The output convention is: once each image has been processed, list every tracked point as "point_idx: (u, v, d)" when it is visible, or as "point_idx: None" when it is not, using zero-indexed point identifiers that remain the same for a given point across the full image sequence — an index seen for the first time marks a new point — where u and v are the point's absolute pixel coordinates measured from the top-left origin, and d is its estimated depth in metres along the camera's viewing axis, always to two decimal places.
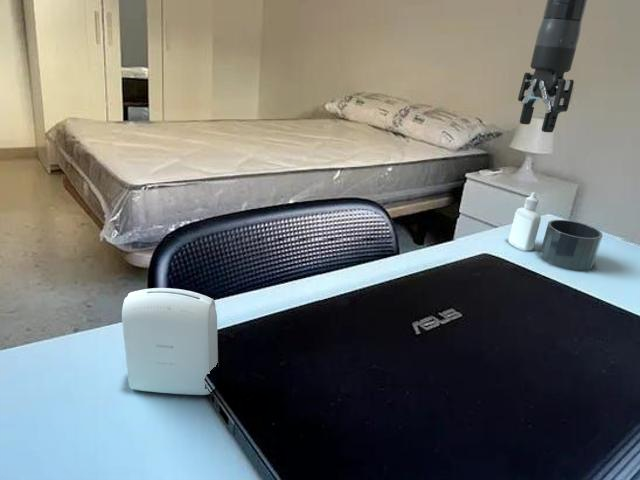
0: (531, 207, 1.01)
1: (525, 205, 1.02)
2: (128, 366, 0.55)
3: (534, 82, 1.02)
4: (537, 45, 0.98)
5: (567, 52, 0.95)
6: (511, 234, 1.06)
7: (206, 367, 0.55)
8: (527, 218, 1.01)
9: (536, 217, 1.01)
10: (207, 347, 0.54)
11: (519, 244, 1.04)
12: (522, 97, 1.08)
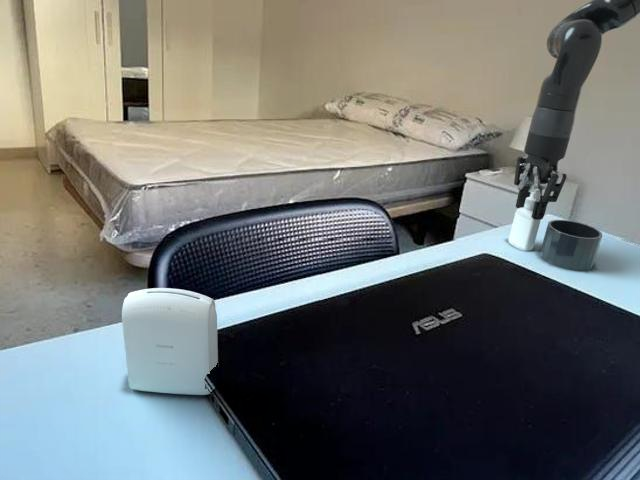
0: (531, 207, 1.01)
1: (525, 205, 1.02)
2: (128, 366, 0.55)
3: (528, 166, 1.00)
4: (531, 132, 0.96)
5: (561, 141, 0.94)
6: (511, 234, 1.06)
7: (206, 367, 0.55)
8: (527, 218, 1.01)
9: None
10: (207, 347, 0.54)
11: (519, 244, 1.04)
12: (518, 181, 1.05)
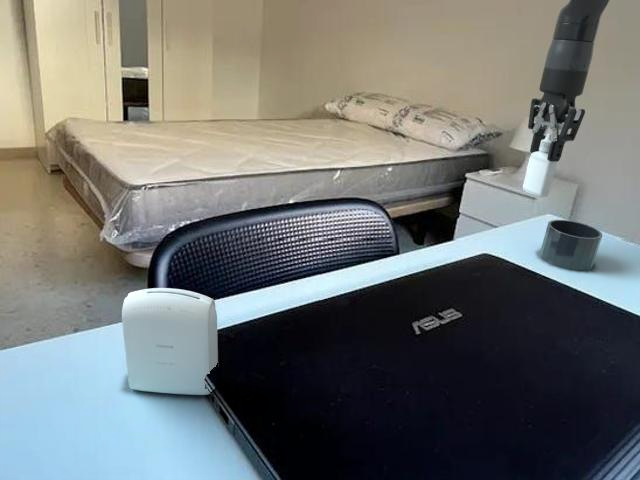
0: (547, 149, 0.97)
1: (540, 148, 0.98)
2: (128, 366, 0.55)
3: (543, 106, 0.95)
4: (546, 67, 0.92)
5: (579, 75, 0.89)
6: (525, 180, 1.02)
7: (206, 367, 0.55)
8: (543, 161, 0.97)
9: None
10: (207, 347, 0.54)
11: (534, 189, 0.99)
12: (532, 125, 1.00)
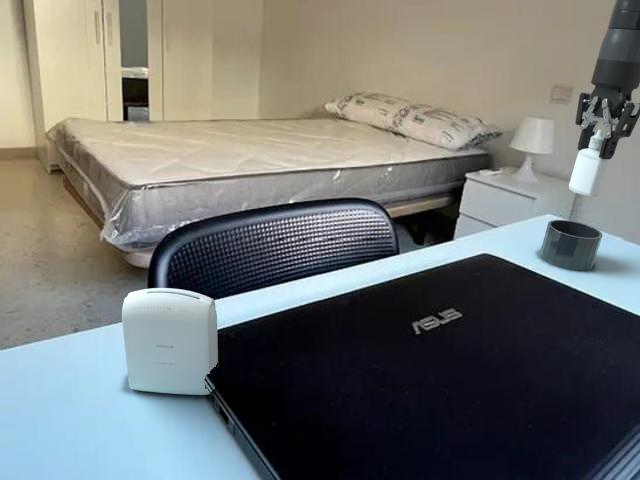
0: (597, 146, 0.91)
1: (590, 145, 0.92)
2: (128, 366, 0.55)
3: (595, 100, 0.90)
4: (601, 59, 0.86)
5: (637, 67, 0.83)
6: (572, 179, 0.96)
7: (206, 367, 0.55)
8: (594, 158, 0.91)
9: None
10: (207, 347, 0.54)
11: (583, 189, 0.94)
12: (581, 120, 0.95)
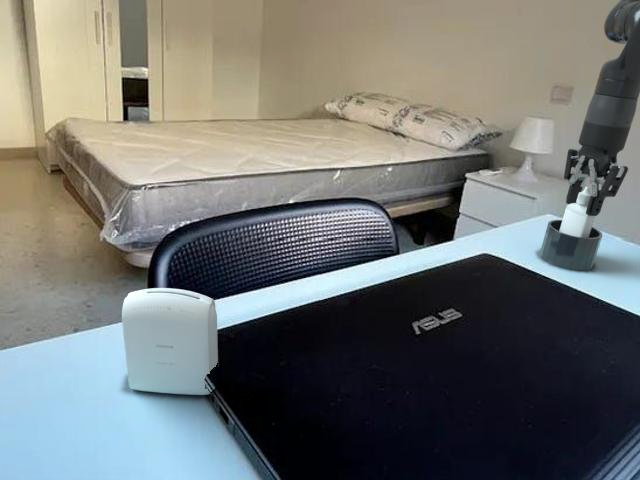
0: (585, 203, 0.95)
1: (578, 200, 0.96)
2: (128, 366, 0.55)
3: (582, 159, 0.93)
4: (588, 122, 0.90)
5: (622, 132, 0.87)
6: None
7: (206, 367, 0.55)
8: (581, 214, 0.95)
9: None
10: (207, 347, 0.54)
11: None
12: (569, 176, 0.98)
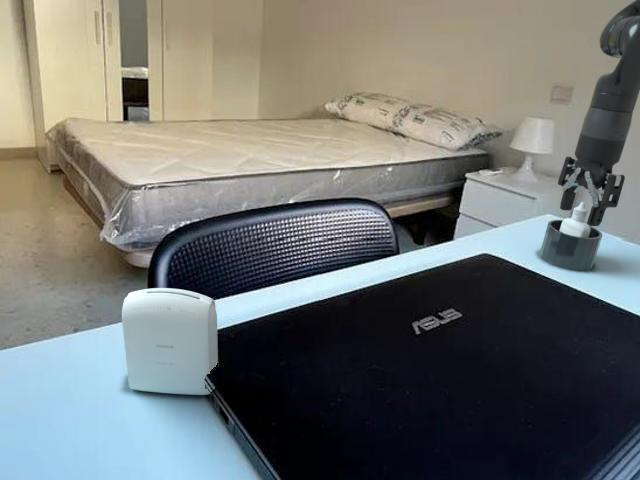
0: (580, 218, 0.96)
1: (573, 216, 0.97)
2: (128, 366, 0.55)
3: (578, 171, 0.94)
4: (583, 135, 0.90)
5: (617, 145, 0.88)
6: None
7: (206, 367, 0.55)
8: (576, 229, 0.96)
9: (586, 228, 0.95)
10: (207, 347, 0.54)
11: None
12: (563, 182, 1.00)
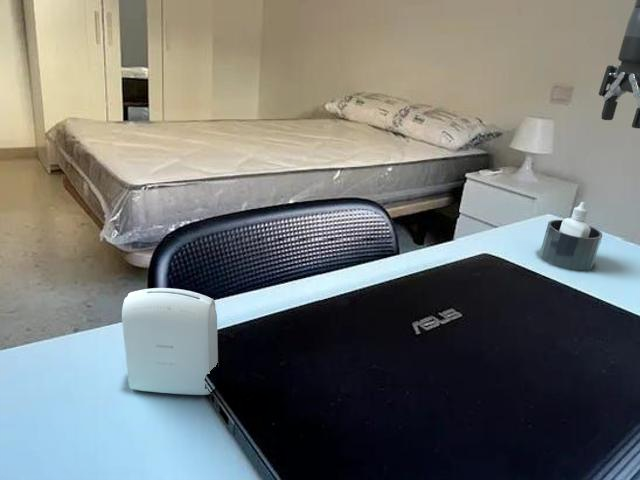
0: (580, 218, 0.96)
1: (573, 216, 0.97)
2: (128, 366, 0.55)
3: (622, 75, 0.96)
4: (628, 36, 0.92)
5: None
6: None
7: (206, 367, 0.55)
8: (576, 229, 0.96)
9: (586, 228, 0.95)
10: (207, 347, 0.54)
11: None
12: (604, 91, 1.02)
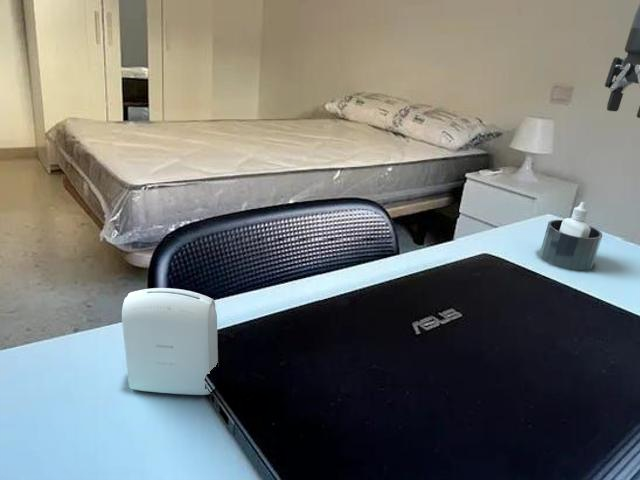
0: (580, 218, 0.96)
1: (573, 216, 0.97)
2: (128, 366, 0.55)
3: (628, 67, 0.98)
4: (635, 27, 0.94)
5: None
6: None
7: (206, 367, 0.55)
8: (576, 229, 0.96)
9: (586, 228, 0.95)
10: (207, 347, 0.54)
11: None
12: (610, 83, 1.04)
